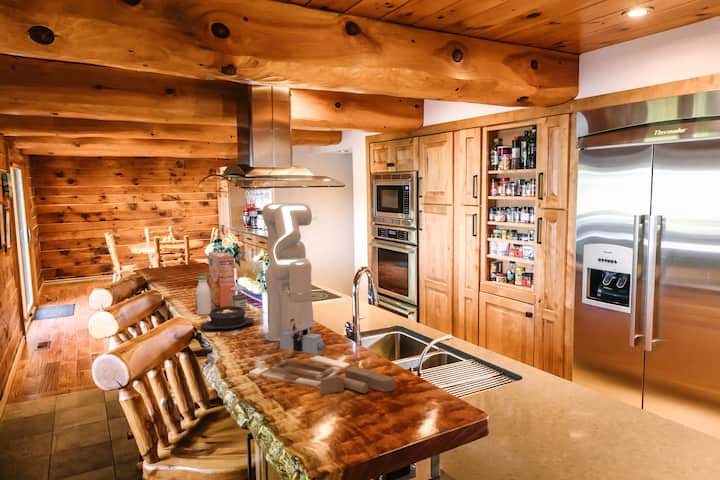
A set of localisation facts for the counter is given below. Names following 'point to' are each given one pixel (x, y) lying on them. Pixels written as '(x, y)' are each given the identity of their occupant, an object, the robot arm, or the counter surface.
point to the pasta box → (221, 278)
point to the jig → (300, 373)
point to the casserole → (227, 318)
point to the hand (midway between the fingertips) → (301, 348)
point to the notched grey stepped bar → (303, 342)
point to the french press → (239, 297)
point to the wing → (330, 362)
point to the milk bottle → (203, 297)
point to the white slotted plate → (259, 369)
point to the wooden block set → (357, 381)
